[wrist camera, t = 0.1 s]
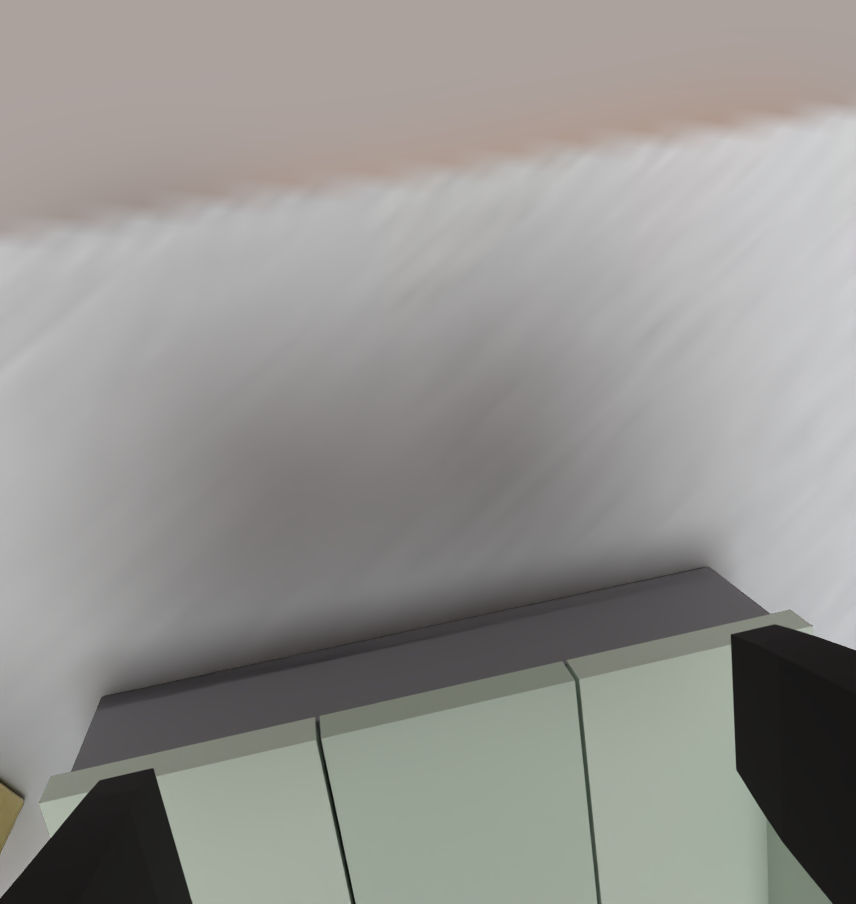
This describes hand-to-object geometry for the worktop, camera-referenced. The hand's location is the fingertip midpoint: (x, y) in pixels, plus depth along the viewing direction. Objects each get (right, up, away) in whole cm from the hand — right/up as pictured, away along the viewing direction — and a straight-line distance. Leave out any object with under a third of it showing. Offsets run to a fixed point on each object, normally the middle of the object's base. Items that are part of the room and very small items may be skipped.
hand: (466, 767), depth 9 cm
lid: (+1, -6, +9) cm, 11 cm away
